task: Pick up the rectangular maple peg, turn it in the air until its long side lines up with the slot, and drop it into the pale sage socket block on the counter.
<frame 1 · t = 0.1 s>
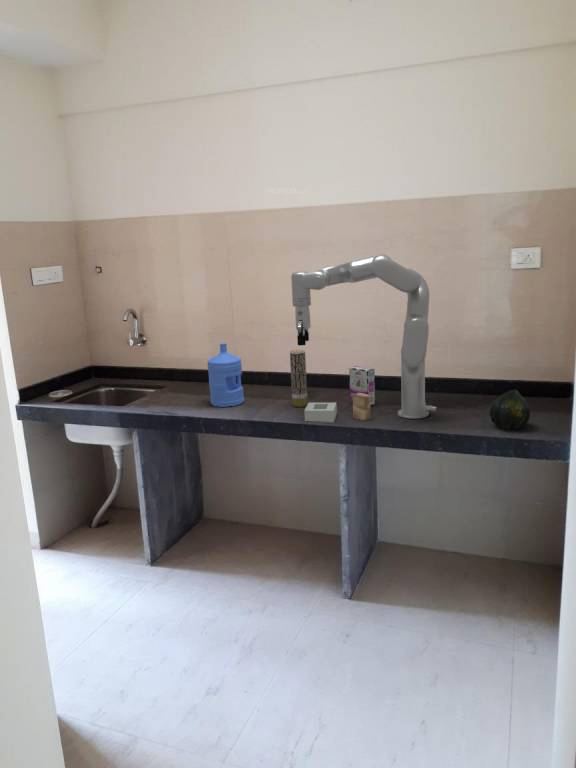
hand: (303, 343, 266), 31 cm above the worktop, tool pointing down, fingers open, 9 cm apart
paper tube: (300, 405, 287), on the worktop
candy bar box: (362, 404, 285), on the worktop
water jug: (227, 403, 297), on the worktop
sage socket block: (321, 417, 267), on the worktop
maple key peg: (361, 418, 264), on the worktop
squash: (509, 427, 244), on the worktop
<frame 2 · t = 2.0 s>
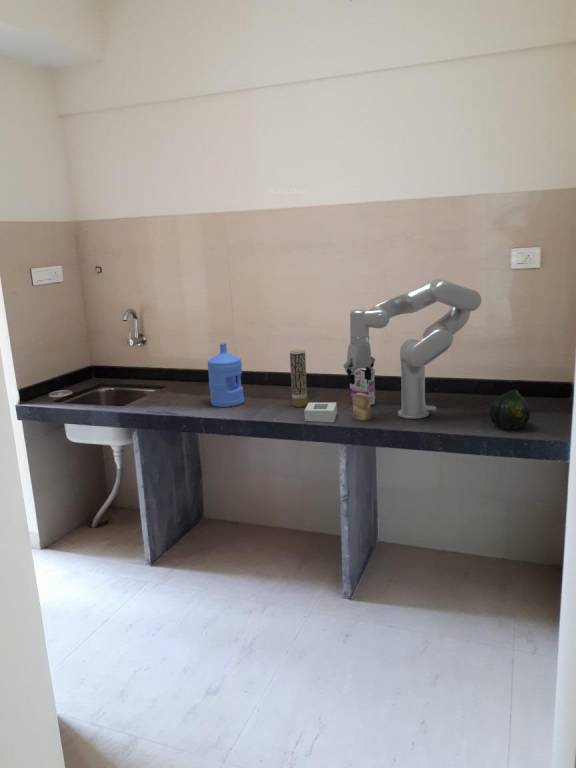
hand: (359, 381, 260), 16 cm above the worktop, tool pointing down, fingers open, 9 cm apart
nothing on the worktop moved.
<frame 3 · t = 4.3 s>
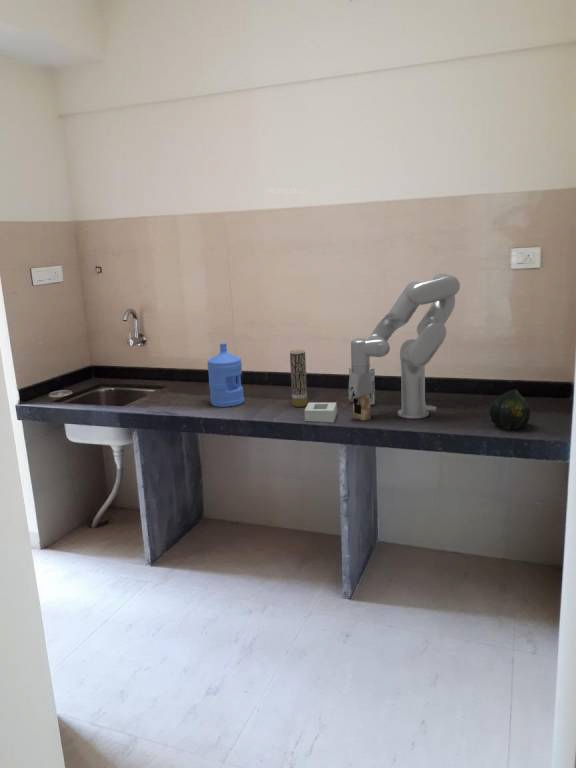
hand: (361, 411, 263), 3 cm above the worktop, tool pointing down, fingers closed on maple key peg, 4 cm apart
maple key peg: (361, 418, 264), on the worktop, touching gripper
everything else where it was.
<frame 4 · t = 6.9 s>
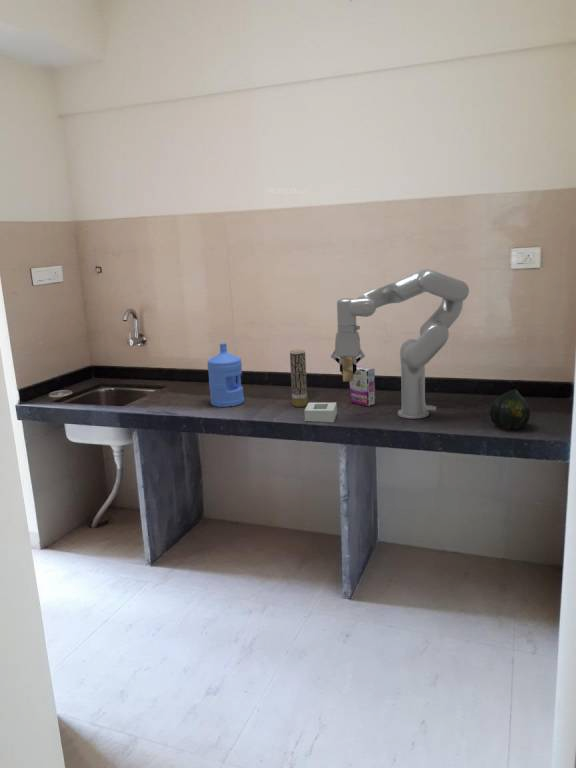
hand: (348, 373, 260), 19 cm above the worktop, tool pointing down, fingers closed on maple key peg, 4 cm apart
maple key peg: (348, 379, 261), point 16 cm above the worktop, touching gripper
everything else where it was.
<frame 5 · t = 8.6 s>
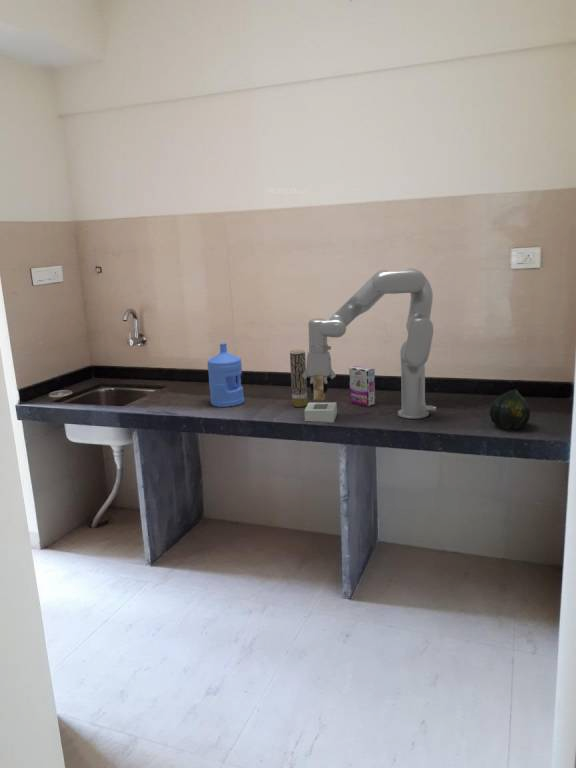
hand: (319, 391, 264), 11 cm above the worktop, tool pointing down, fingers closed on maple key peg, 4 cm apart
maple key peg: (319, 398, 265), point 9 cm above the worktop, touching gripper
everything else where it was.
when the fingers open (6 cm above the worktop, at t = 10.0 s): maple key peg drops 3 cm, resting in sage socket block.
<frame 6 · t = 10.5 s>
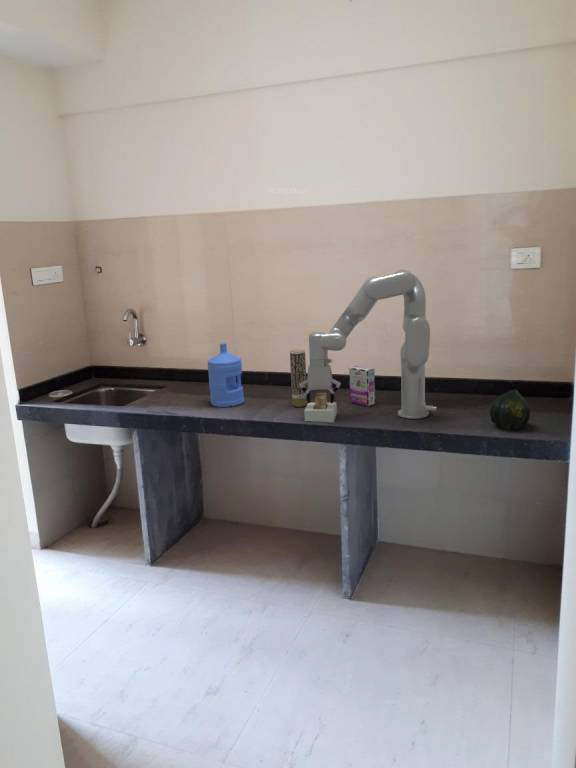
hand: (320, 402, 265), 7 cm above the worktop, tool pointing down, fingers open, 9 cm apart
maple key peg: (321, 418, 267), resting in sage socket block
everything else where it was.
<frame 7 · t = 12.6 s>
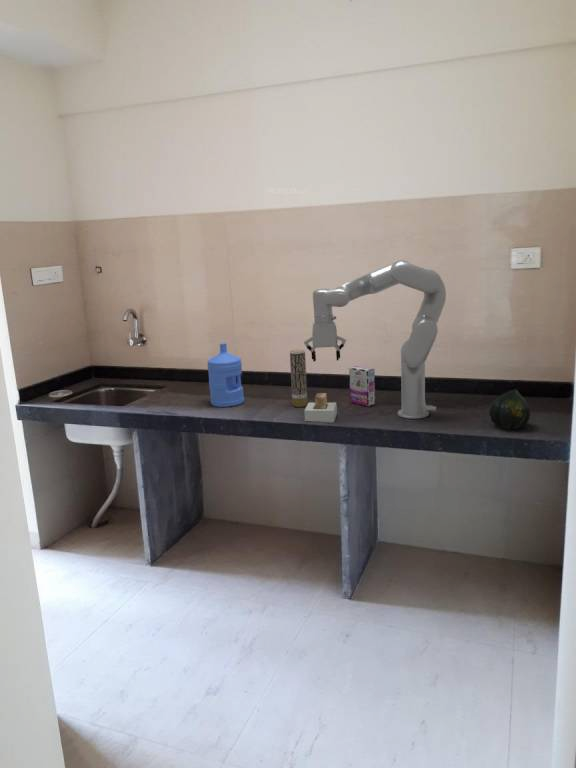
hand: (326, 360, 264), 24 cm above the worktop, tool pointing down, fingers open, 9 cm apart
nothing on the worktop moved.
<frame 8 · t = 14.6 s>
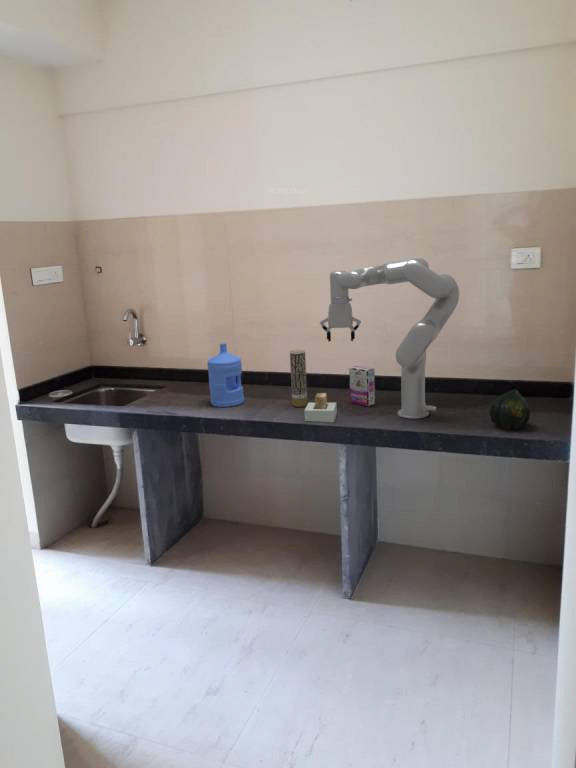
hand: (340, 340, 271), 30 cm above the worktop, tool pointing down, fingers open, 9 cm apart
nothing on the worktop moved.
at the end: maple key peg 0.3 cm off-centre on the sage socket block, point 0.0 cm above the sage socket block's base; maple key peg tilted 0°; the gripper is holding nothing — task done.
